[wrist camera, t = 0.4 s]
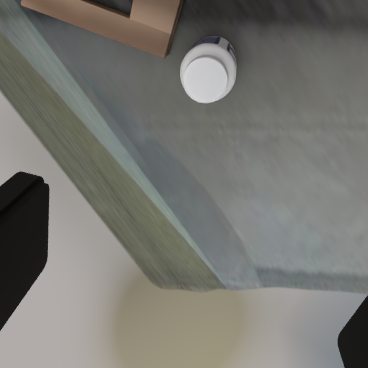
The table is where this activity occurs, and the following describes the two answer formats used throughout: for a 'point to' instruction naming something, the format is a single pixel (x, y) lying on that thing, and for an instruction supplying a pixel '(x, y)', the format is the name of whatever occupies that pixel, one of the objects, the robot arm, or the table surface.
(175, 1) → the pin board
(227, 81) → the pill bottle
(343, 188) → the table surface
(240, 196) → the table surface
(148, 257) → the table surface
